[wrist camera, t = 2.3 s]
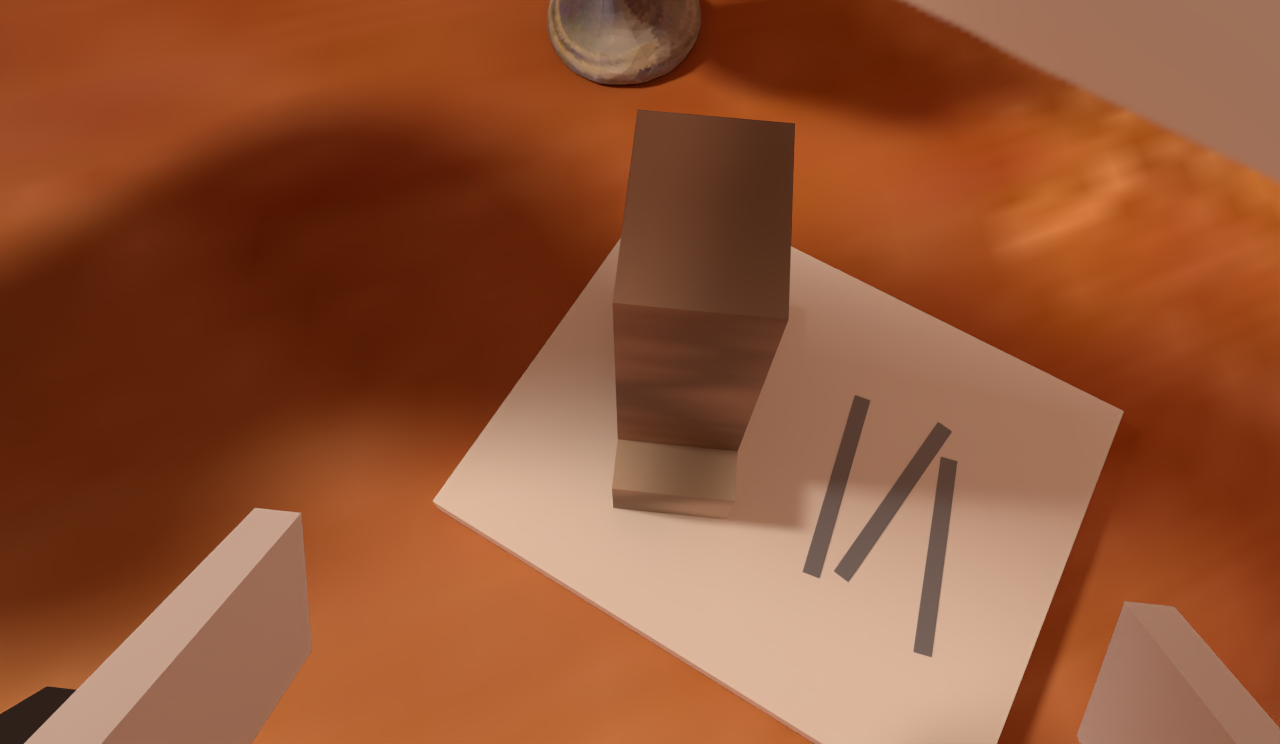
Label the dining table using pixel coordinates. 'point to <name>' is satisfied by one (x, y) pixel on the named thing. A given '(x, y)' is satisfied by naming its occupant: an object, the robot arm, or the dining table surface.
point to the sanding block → (697, 303)
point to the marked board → (816, 513)
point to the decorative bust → (623, 37)
